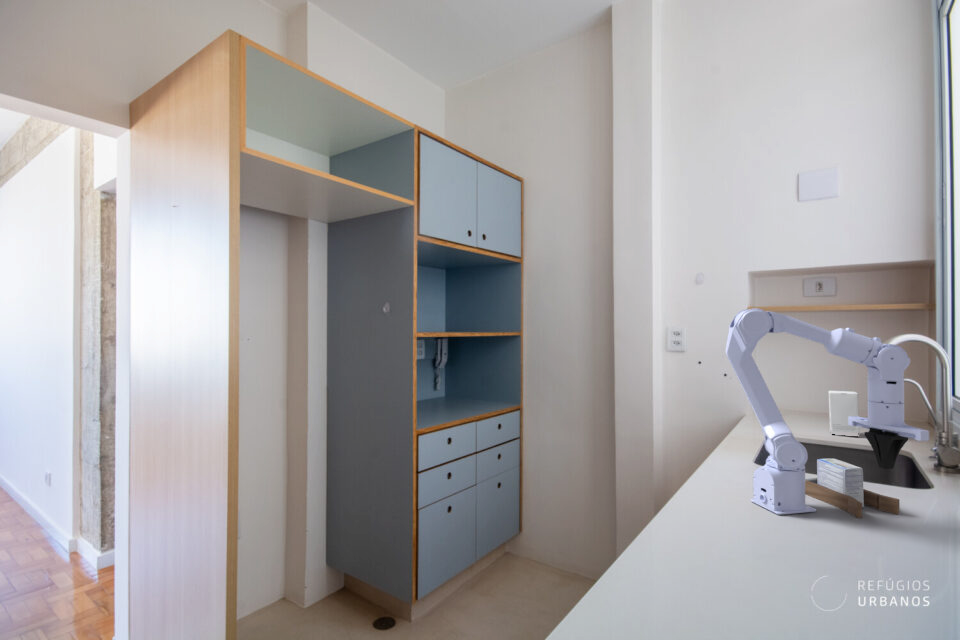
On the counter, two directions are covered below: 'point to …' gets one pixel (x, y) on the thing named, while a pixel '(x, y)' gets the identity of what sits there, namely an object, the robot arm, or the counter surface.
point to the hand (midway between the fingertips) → (886, 467)
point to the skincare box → (843, 410)
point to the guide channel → (851, 499)
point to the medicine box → (841, 478)
